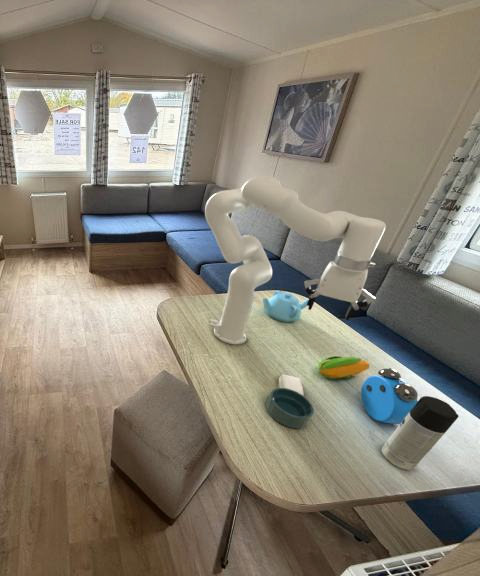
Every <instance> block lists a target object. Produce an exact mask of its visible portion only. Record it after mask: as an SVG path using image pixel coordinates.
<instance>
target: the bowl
mask: <svg viewBox="0 0 480 576" xmlns="http://www.w3.org/2000/svg"><path fill="white" fill-rule="evenodd" d="M265 406H266V411H267V412H268V414H269V415H270V416H271V417H272V418H273V419H274V420H275V421H277V422H278V423H280V424H281V425H283V426H286V427H288V428H291V429H303V428H306V427H307V426H308V424H309V423H310V421H311V419H312V417H313V415H314V411H315V409H314V406H313V404H312V402H311V401H310V400H309V399H308V398H307V397H305V395H304V396H303V395H301V394H300V393H298V392H296V391H293V390H291V389H287V388H279V387H276V388H274V389H272V390H271V391H270V394H269V396H268V399H267V402H266V405H265Z"/></svg>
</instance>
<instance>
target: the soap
mask: <svg viewBox="0 0 480 576" xmlns="http://www.w3.org/2000/svg"><path fill="white" fill-rule="evenodd" d="M278 388H287V389H291V390H293V391H296V392H298V393H300V394H301V395H303V396H304V397H305V395H304V387H303V383H302V380H301V378H299V377H296V376H293V375H288V374H281V376H279V377H278Z"/></svg>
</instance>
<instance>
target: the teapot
mask: <svg viewBox="0 0 480 576" xmlns="http://www.w3.org/2000/svg"><path fill="white" fill-rule="evenodd" d="M308 300H309V298H307V299H305V300H304V301H303V302H301V303H300V301H299V299H298V298H297V297H296V296H295V295H293V294H292V293H290V292H282V291H281V290H275V292H274V293H273V296H272V297H270V298H269V299H268V297H262V302H263V308H264V311H265V313H266V314H267V315H268V316H269V317H270V318H271V319H273V320H276V321H279V322H283V323H293V322H295V321H298V320H299V319H300V318H301V316H302V310H303V309H305V308H306V307H308V306H307V303H308Z"/></svg>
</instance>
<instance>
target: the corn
mask: <svg viewBox="0 0 480 576" xmlns="http://www.w3.org/2000/svg"><path fill="white" fill-rule="evenodd" d="M317 367H318V373H319V374H321V376H323V377H325V378H328V379H331V380H344V379H351V378H354V377H356V375H359V374H361V373H363V372H364V371H367V370H368V369H370V363H369V362H368V361H366V360H365V359H364V360H363V359H361V358H359V357H355V356H327V357H324V358H323V359H322V360H320V361H319V363H318V366H317Z"/></svg>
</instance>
